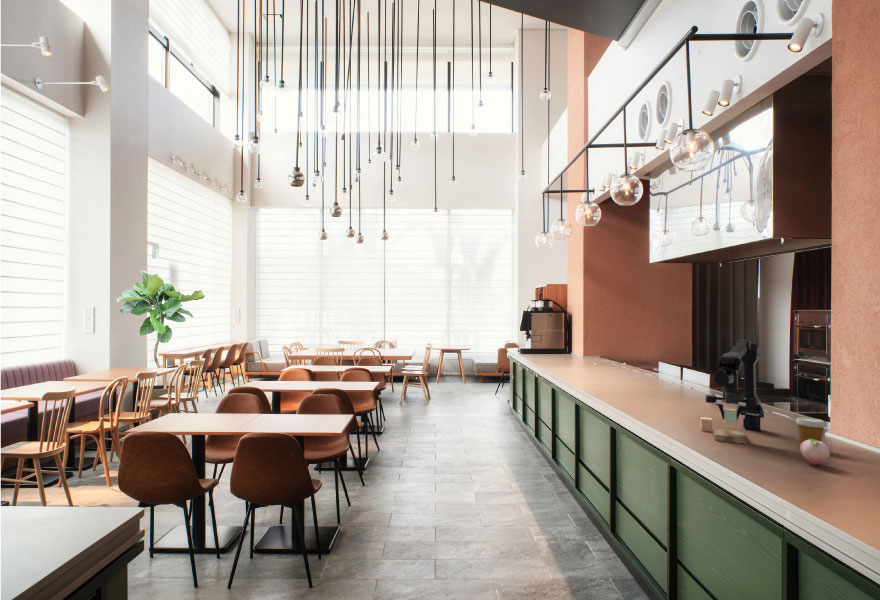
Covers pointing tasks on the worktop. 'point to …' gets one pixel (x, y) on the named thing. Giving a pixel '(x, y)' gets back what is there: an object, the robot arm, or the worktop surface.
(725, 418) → the green block
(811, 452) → the decorative fruit
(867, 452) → the worktop surface
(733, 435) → the walnut base
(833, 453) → the worktop surface
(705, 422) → the terracotta block
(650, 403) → the worktop surface
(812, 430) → the disposable coffee cup
